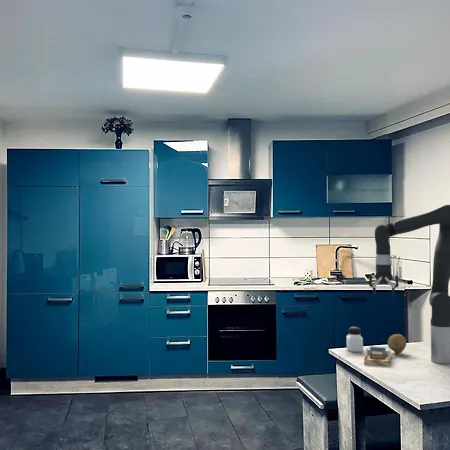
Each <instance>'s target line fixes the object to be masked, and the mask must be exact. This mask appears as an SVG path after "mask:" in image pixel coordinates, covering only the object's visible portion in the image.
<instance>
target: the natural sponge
mask: <svg viewBox="0 0 450 450" xmlns="http://www.w3.org/2000/svg"><path fill="white" fill-rule="evenodd" d="M406 346H407V340H406V337H404V336H403V335H402V334H400V333H395V334H392V335H390V336H389V338H388V340H387V347H388V349H389V350H390V351H391V350H392V351H393V352H394V353H395V354H397V355H398V354H402V352H403V351H404V350H405V349H406Z"/></svg>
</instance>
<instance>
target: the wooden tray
mask: <svg viewBox="0 0 450 450" xmlns="http://www.w3.org/2000/svg"><path fill="white" fill-rule="evenodd" d="M368 348H369V347H366V349H365V353H364V356H363V357H364V358H363V365H364V364H367V366H379V367H380V366H381V367H389V368H390V367H392V352H391V349H388V355H382V360H379V359H372V354H368Z"/></svg>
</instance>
